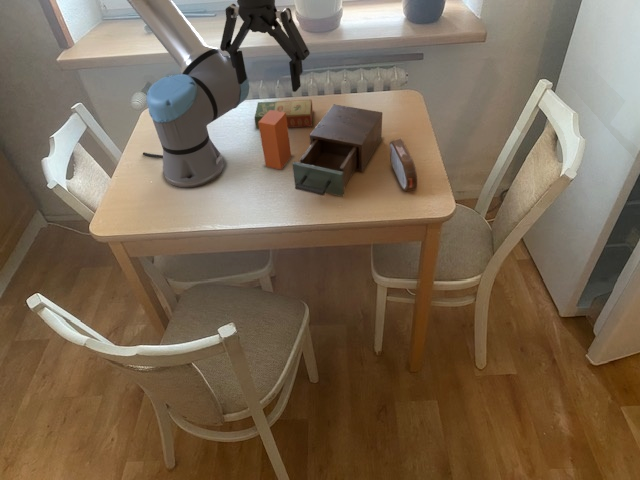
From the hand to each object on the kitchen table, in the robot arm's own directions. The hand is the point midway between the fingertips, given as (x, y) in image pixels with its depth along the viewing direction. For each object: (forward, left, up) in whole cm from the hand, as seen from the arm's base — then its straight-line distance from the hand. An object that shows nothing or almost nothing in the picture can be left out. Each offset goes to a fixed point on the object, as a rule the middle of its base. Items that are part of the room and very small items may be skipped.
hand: (269, 85), depth 106 cm
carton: (-14, +17, -23) cm, 32 cm away
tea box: (-2, +1, -22) cm, 22 cm away
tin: (+28, +13, -23) cm, 38 cm away
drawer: (+14, +2, -21) cm, 25 cm away
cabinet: (+10, +15, -22) cm, 29 cm away
